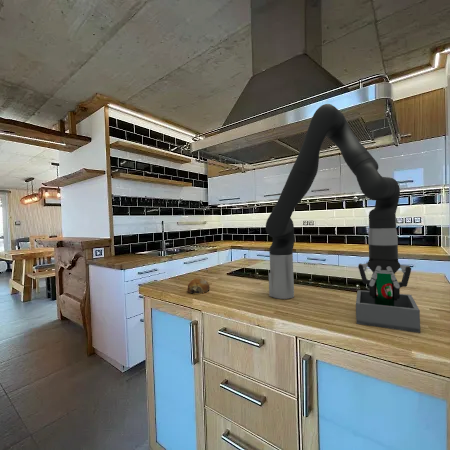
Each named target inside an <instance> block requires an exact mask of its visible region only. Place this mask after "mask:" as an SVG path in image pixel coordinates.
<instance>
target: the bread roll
mask: <svg viewBox="0 0 450 450" xmlns="http://www.w3.org/2000/svg"><path fill="white" fill-rule="evenodd" d="M210 287H211V286H210V284H209V282H208V281H207V280H206V279H205V278H203V277H195V278H194V279H192V280H191V281H190V282H189V283H188V285H187V292H188V293H189V292H190V293H189V294H191V293H202V294H204V293H203V292H206V293H208V292H209V291H210ZM208 290H209V291H208ZM207 291H208V292H207Z"/></svg>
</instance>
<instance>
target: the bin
mask: <svg viewBox="0 0 450 450" xmlns="http://www.w3.org/2000/svg"><path fill="white" fill-rule="evenodd" d="M356 290H357V289H356ZM420 312H421V311H420V308H419V307H418V304H417V302H416V301H415V299H414V297H413V296H412V294H405V293H400V298H399V299H397V301H395V300H394V306H386V305H377V304H375V298H372V296H370V290H360V289H358V290H357V293H356V299H355V319H356V321H355V322H356V324H358V325H363V326H371V327H378V328H384V329H392V330H397V331H399V330H400V331H405V332H413V333H418V334H419V333H420V334H421V313H420Z"/></svg>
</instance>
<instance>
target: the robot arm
mask: <svg viewBox="0 0 450 450" xmlns="http://www.w3.org/2000/svg"><path fill="white" fill-rule="evenodd" d="M325 138H328V139H329V140H330V141H331V142H332V143H334V144H335V145H336V146H337V148H338V150H339V151H340V152H341V153H340V154H341V155H342V158H343V160H344V163H345V164H346V165H347V167H348V168H349V170H350V171H351V173H353V175H354V176H355V178H356V180H357V183H358V187H359V188H360V191H361V193H362V194H363V195H364V196H365V197H366V198H367V199H368V200H371V201H375V205H374V208H373V209H371V210H370V211H369V212H368V236H367V237H368V240H367V242H368V261H367V263H358V266H357V267H358V271H359V274H360V279H361V281H362V284H364V285H368V286H369V287H368V288H369V289H368V291H370V296H372V298H375V286H374V283H375V281H376V279H377V274H376V273H378V272H380V270H381V269H382V270H387V271H388V272H389V273H391V279H392V281H393V283H394V300H395V301H397V299H399V298H400V294H401V291H400V290H401V288H403V287H404V288H406V287H407V286H408V284H409V281H410V280H409V279H410V276H411V272H412V267H411V266H410V265H403V264H400V261H399V247H398V246H399V244H398V243H399V242H398V241H399V240H398V231H397V217H396V215H397V214H396V213H397V209H398V206H399V201H400V194H401V189H400V184H399V182H398V181H397V180H396V179H395V178H393V177H388V176H382V175H381V174H380V173H379V171H378V170H379V163H378V162H377V160H376V159H375V158H374V157H373V155H372V154H371V153H370V152H369V151H368V150H367V148H366V147H365V146H364V145H363V144H362V143H361V142H360V140H359V139H358V138H357V137H356V136H355V134H354V132H353V131H352V129H351V127H350V125H349V123H348V121H347V119H346V117H345V115H344V113H343V112H342V111H341V110H339V109H338V108H337V107H336V106H335V105H333V104H330V103H325V104H322V105H320V106H319V107H318V108H317V109H316V110H315V112H314V114H313V115H312V118H311V119H310V122H309V126H308V128H307V132H306V133H305V138H304V139H303V143H302V145H301V148H300V150H299V152H298V155H297V157H296V159H295V162H294V163H293V166H292V168H291V169H290V171H289V175H288V177H287V179H286V181H285V184H284V186H283V188H282V190H281V193H280V195H279V198H278V199H277V202H276V204H275V206H274V207H273V209H272V211H271V213H270V214H269V216H268V218H267V219H266V222H265V231H266V233H267V235H268V236H269V237H271V238H272V241H271V245H270V247H269V273H268V293H269V294H268V295H269V297H271V298H274V299H277V300H286V299H287V300H288V299H292V298H294V297H295V287H294V286H295V284H294V283H295V281H294V257H293V256H294V253H293V249H294V246H295V225H294V221H293V219H292V215H293V213H294V211H295V209H296V207H297V206H298V205H299V203H300V202H301V201H302V200H303V198H304V197H305V196H306V195H307V193H308V191H310V189H311V186H312V185H313V183H314V181H315V179H316V177H317V173H318V171H319V163H320V152H321V148H322V145H323V142H324V140H325ZM367 268H369V270H371V272H372V274H371V276H370V279H368V278H367V276H366V271H367ZM399 269H400V270H401V273H402V277H401V281H398V279H397V277H396V273H397V272H398V271H399ZM375 275H376V276H375Z"/></svg>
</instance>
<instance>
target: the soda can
mask: <svg viewBox="0 0 450 450" xmlns="http://www.w3.org/2000/svg"><path fill="white" fill-rule="evenodd" d="M376 274H377V279H376V281H375V283H374V286H375V304H377V305H386V306H394V283H393V281H392V279H391V273H389V272H388V271H387V270H382V269H381V270H380V272H378V273H376ZM375 276H376V275H375Z"/></svg>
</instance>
